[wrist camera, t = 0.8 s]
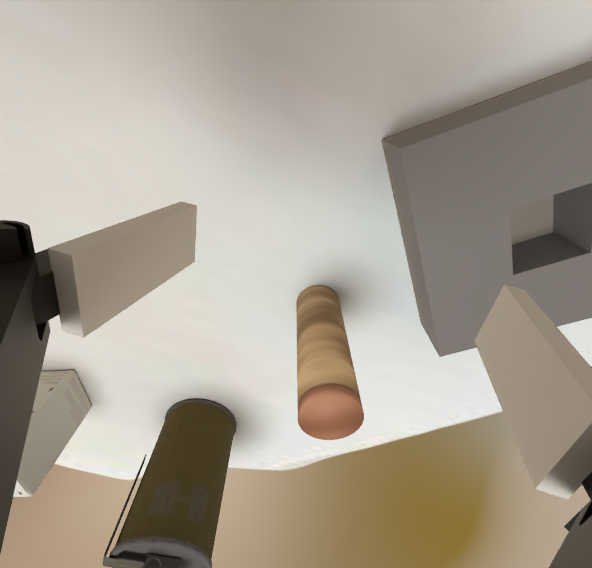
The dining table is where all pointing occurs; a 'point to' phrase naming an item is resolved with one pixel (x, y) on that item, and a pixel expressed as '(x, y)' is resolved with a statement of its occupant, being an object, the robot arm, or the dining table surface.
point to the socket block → (498, 206)
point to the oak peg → (325, 368)
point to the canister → (178, 492)
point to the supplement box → (50, 426)
